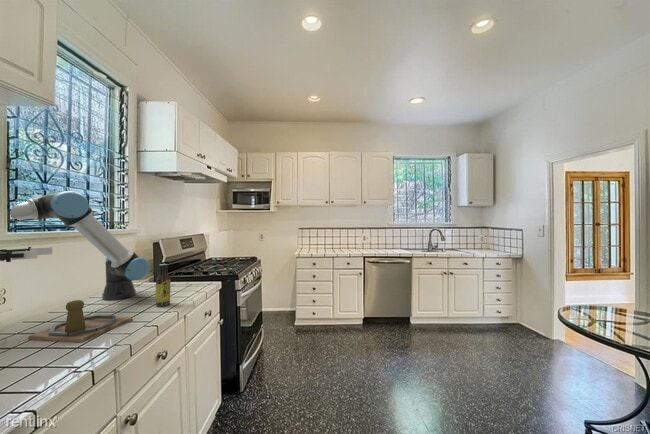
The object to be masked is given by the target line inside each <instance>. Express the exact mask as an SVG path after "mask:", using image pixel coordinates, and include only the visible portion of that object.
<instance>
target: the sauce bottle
mask: <svg viewBox="0 0 650 434" xmlns="http://www.w3.org/2000/svg"><path fill="white" fill-rule="evenodd" d="M168 267H169V264H168V263H160V264H158V275H157V277H156V279H155V306H156V307H166V306H169V305H170V304H171V277H170V275H169V273H168V269H169V268H168Z"/></svg>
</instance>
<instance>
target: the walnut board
mask: <svg viewBox="0 0 650 434" xmlns="http://www.w3.org/2000/svg"><path fill="white" fill-rule="evenodd" d="M87 316H91V315H89V314H88V315H84V317H87ZM84 321H85V326H86V329H90V328H95V327H98V326H100V325H103V324H105V323H108V322H110V321H112V319H107V318H94V319H88V320H84ZM131 321H133V317H132V316H115V324H112V325H110V326H107V327H105V328H103V329H100V330H98V331H94V332H89V333H83V334H78V335H73V336H51V335H49V331H50V329H51V328H52V327H50V328H47V329H44V330H42V331H38V332H35V333H33V334H30V335H28V337H27V338H28V340H32V341H33V340H37V341H53V342H67V343H68V342H71V343H84V342H86V341H88V340H90V339H92V338H94V337H97V336H99V334H100V335H102V334H104V333H107V332H109V331H111V330H113V329H115V328H118V327H120V326H122V325H125V324H127V323H130V322H131ZM65 327H66V325H64V326H62V327H59V328H56V330H55V331H57V332H65ZM83 341H84V342H83Z"/></svg>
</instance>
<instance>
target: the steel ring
mask: <svg viewBox="0 0 650 434" xmlns="http://www.w3.org/2000/svg"><path fill="white" fill-rule="evenodd" d="M86 316H87V315H86ZM115 317H116V314H115V315H114V314H112V315H111V314H95V315H90V316H87V317H84V320H88V319H94V318H107V319H112V321H110V322H108V323H105V324H103V325H100V326H98V327H95V328H90V329H85V330H79V331H74V332H57V331H55V330H56V328H59V327H62V326H64V325H66V321H64V322H59V323H57V324H54V325H52V326H51V327H50V328H51V329H50V328H49V329H50V331H49V335H51V336H73V335H78V334H83V333H89V332H94V331H98V330H100V329H103V328H105V327H107V326H110V325H112V324H115Z"/></svg>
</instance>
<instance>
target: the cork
mask: <svg viewBox="0 0 650 434" xmlns="http://www.w3.org/2000/svg"><path fill="white" fill-rule="evenodd" d="M84 306H85V302H84V301H83V300H82V299H75V300H71V301H69V302H67V303H66V304H65V309H66V310H67V314H66V319H65V320H66V321H65V322H66V327H65V332H74V331H79V330H85V329H86V326H85V321H84V316H85V315H84V312H83V311H84V309H83V308H84Z"/></svg>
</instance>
